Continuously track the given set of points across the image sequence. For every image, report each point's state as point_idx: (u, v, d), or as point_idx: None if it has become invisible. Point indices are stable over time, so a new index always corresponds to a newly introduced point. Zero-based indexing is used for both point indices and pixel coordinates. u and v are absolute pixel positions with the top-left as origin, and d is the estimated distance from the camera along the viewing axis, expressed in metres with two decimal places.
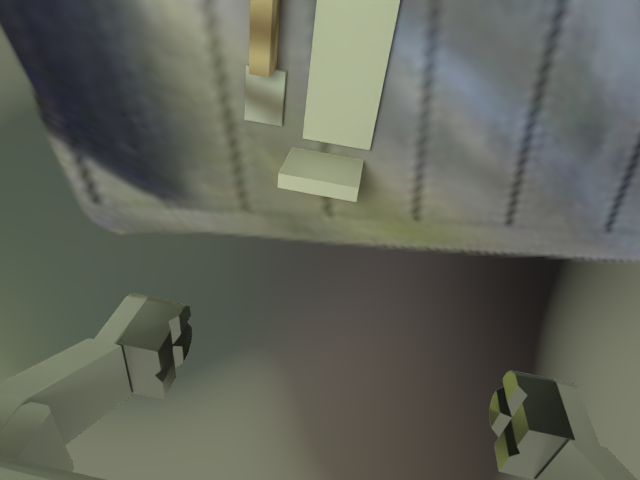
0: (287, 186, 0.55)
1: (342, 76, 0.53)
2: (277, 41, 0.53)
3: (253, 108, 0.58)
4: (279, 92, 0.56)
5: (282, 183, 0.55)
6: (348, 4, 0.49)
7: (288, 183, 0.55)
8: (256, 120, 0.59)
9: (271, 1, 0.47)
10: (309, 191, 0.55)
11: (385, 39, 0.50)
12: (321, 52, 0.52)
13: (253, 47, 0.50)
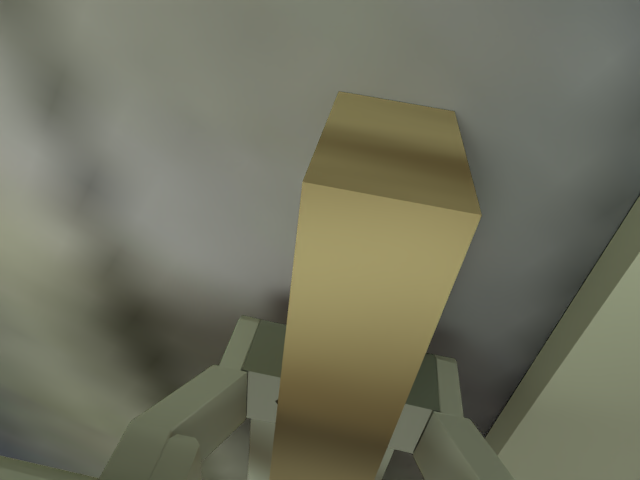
0: None
1: None
2: None
3: None
4: None
5: None
6: None
7: None
8: None
9: (430, 320, 0.07)
10: None
11: None
12: (580, 407, 0.12)
13: (293, 454, 0.10)
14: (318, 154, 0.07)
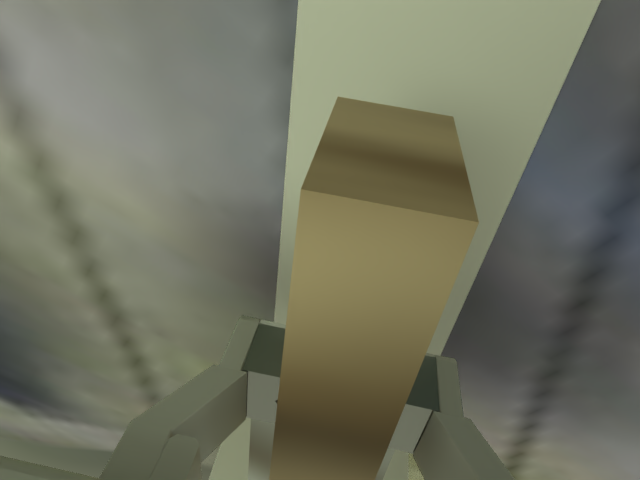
0: None
1: None
2: None
3: None
4: None
5: None
6: (391, 86, 0.15)
7: None
8: None
9: (428, 325, 0.07)
10: None
11: (499, 181, 0.17)
12: None
13: (292, 458, 0.10)
14: (316, 161, 0.07)
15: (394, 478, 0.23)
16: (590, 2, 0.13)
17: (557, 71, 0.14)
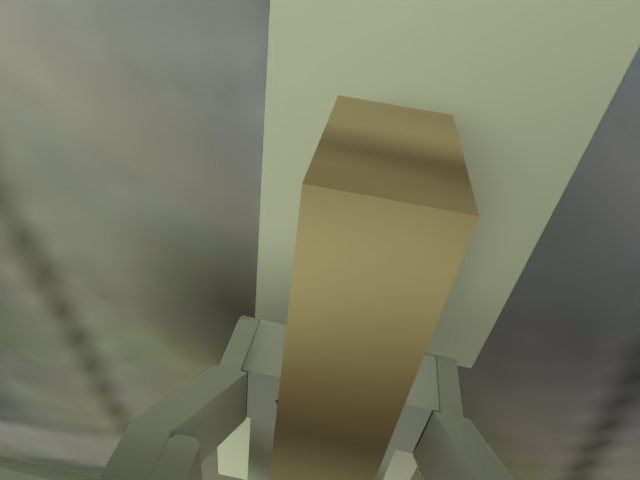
0: None
1: None
2: None
3: None
4: None
5: None
6: None
7: None
8: None
9: (429, 321, 0.07)
10: None
11: None
12: (311, 49, 0.12)
13: (292, 456, 0.10)
14: (318, 156, 0.07)
15: None
16: None
17: None
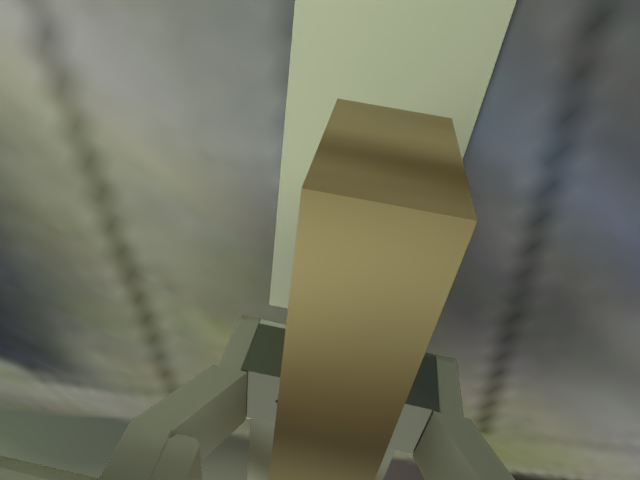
0: None
1: None
2: None
3: None
4: None
5: None
6: (369, 50, 0.20)
7: None
8: None
9: (428, 324, 0.07)
10: None
11: (456, 131, 0.21)
12: (304, 153, 0.23)
13: (292, 458, 0.10)
14: (317, 161, 0.07)
15: None
16: None
17: (495, 37, 0.19)
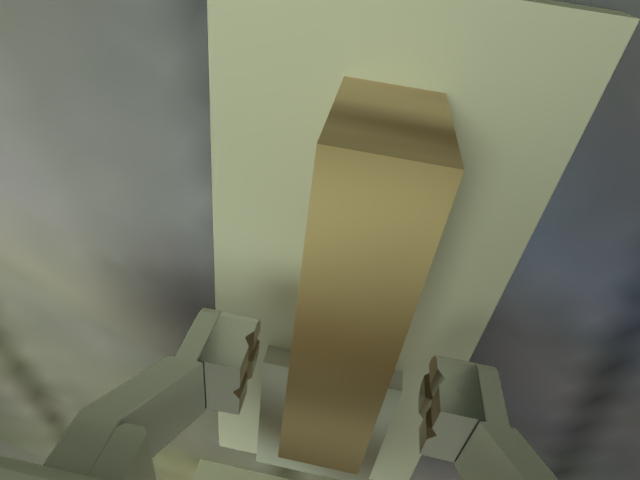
0: None
1: None
2: None
3: None
4: None
5: None
6: None
7: None
8: (291, 466, 0.20)
9: (424, 265, 0.08)
10: None
11: (492, 260, 0.13)
12: (248, 278, 0.15)
13: (303, 400, 0.11)
14: (328, 124, 0.08)
15: None
16: (622, 27, 0.09)
17: (572, 121, 0.10)
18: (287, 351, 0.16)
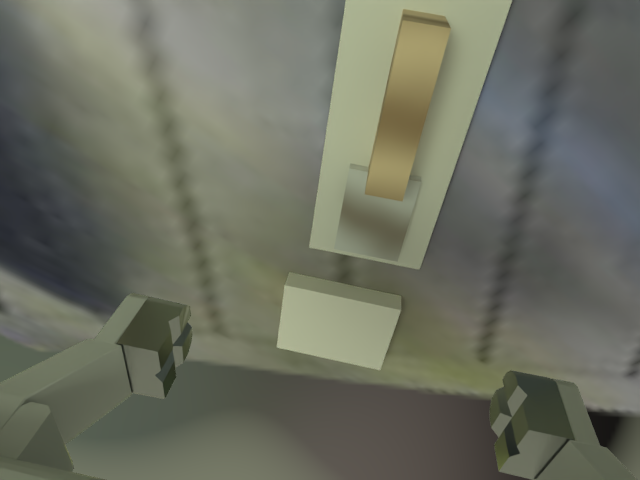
0: None
1: None
2: None
3: (352, 233, 0.33)
4: (403, 212, 0.32)
5: None
6: None
7: None
8: (354, 251, 0.34)
9: (436, 70, 0.23)
10: None
11: (465, 100, 0.28)
12: (346, 118, 0.29)
13: (382, 151, 0.26)
14: (404, 17, 0.23)
15: (378, 351, 0.40)
16: None
17: (496, 28, 0.25)
18: (360, 166, 0.31)
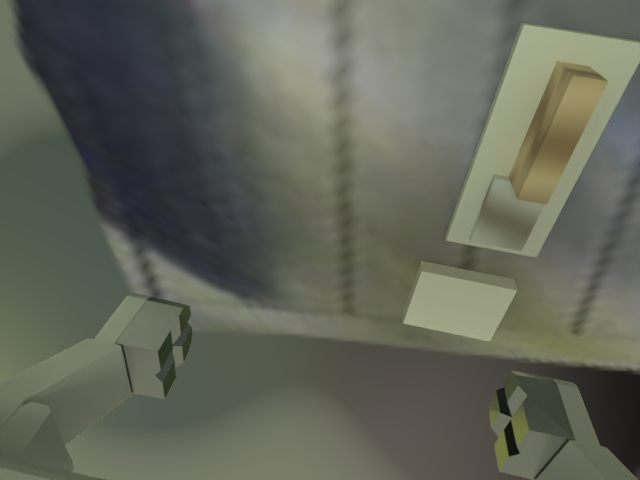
0: None
1: None
2: None
3: (488, 229, 0.42)
4: (533, 212, 0.40)
5: None
6: None
7: None
8: (487, 243, 0.43)
9: (592, 109, 0.32)
10: None
11: (595, 127, 0.36)
12: (496, 140, 0.38)
13: (538, 167, 0.35)
14: (570, 72, 0.31)
15: (491, 325, 0.49)
16: None
17: (627, 74, 0.33)
18: (502, 176, 0.40)
